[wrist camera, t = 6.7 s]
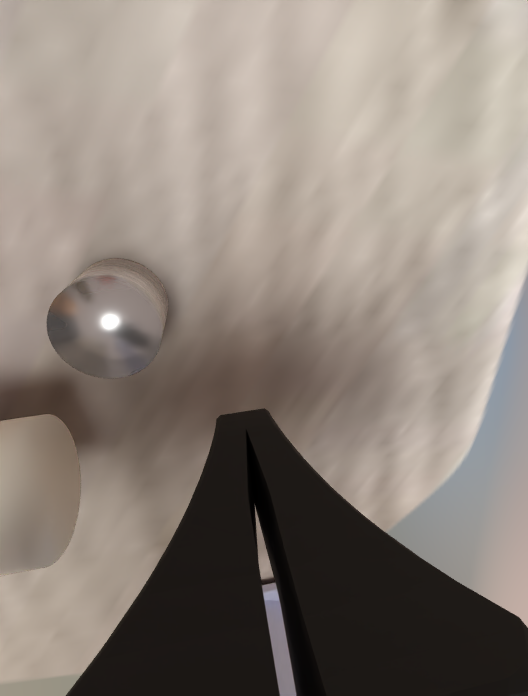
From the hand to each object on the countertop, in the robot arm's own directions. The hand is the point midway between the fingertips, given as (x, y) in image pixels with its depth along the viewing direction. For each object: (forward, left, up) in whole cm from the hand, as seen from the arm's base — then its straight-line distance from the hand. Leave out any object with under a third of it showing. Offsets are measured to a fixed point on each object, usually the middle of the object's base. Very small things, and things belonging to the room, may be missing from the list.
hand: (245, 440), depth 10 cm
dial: (+3, +3, -3) cm, 5 cm away
